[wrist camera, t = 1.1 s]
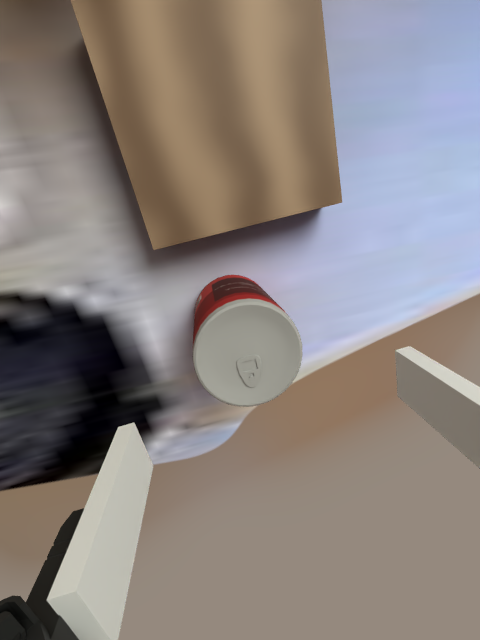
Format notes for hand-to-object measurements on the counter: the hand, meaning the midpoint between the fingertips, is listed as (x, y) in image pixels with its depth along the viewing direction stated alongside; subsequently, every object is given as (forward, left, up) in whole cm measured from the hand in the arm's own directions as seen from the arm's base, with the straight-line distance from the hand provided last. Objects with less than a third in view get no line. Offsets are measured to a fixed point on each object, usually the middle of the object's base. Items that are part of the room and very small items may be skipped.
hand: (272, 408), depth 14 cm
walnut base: (+3, +16, -17) cm, 23 cm away
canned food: (0, 0, -17) cm, 17 cm away
